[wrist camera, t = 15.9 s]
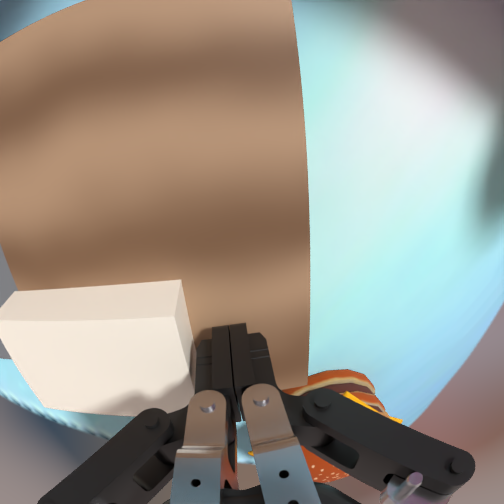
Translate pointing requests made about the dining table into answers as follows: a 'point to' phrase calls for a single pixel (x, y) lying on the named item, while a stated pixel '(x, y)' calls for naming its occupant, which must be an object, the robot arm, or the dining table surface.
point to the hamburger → (350, 387)
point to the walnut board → (163, 161)
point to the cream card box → (103, 346)
